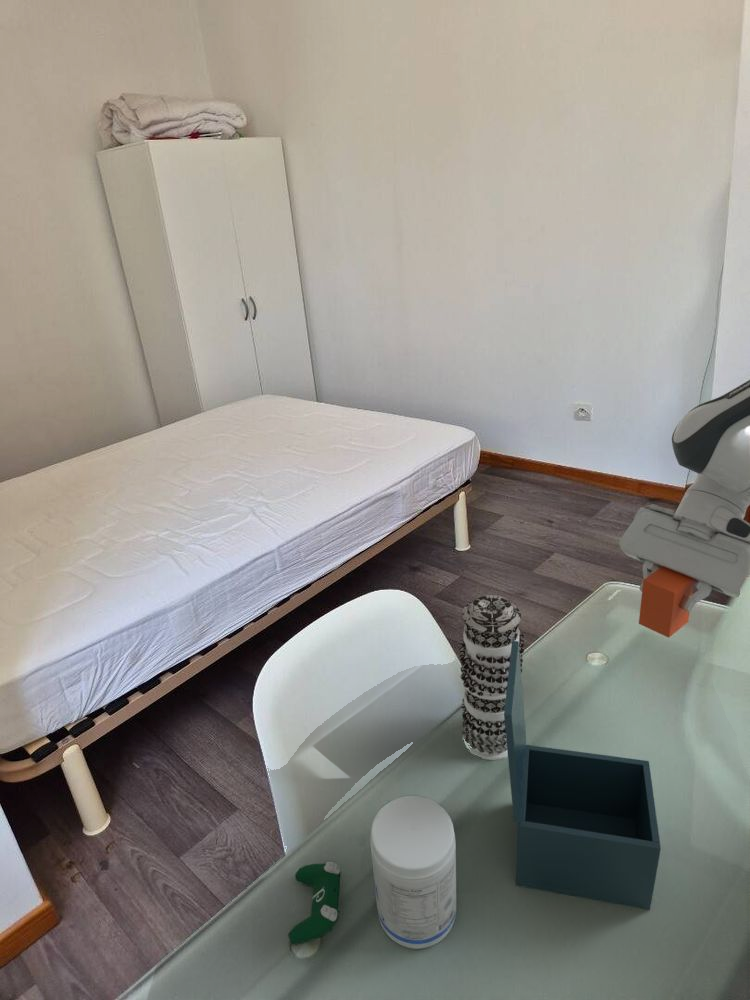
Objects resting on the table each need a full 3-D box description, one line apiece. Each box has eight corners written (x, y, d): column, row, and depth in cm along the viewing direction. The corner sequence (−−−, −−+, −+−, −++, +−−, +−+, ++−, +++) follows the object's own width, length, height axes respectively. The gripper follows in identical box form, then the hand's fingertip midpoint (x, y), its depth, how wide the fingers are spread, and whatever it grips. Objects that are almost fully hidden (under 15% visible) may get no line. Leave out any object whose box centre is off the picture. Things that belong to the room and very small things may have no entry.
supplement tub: (377, 875, 87) (369, 794, 80) (452, 873, 87) (450, 790, 80) (377, 955, 78) (368, 870, 72) (461, 952, 78) (459, 867, 71)
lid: (518, 641, 83) (511, 640, 84) (511, 714, 73) (503, 714, 73) (526, 741, 90) (520, 741, 91) (521, 823, 79) (514, 822, 80)
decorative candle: (532, 737, 106) (539, 602, 95) (496, 772, 100) (498, 634, 89) (485, 708, 112) (486, 579, 101) (448, 740, 106) (445, 607, 95)
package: (688, 622, 105) (694, 578, 102) (668, 638, 102) (674, 593, 99) (658, 608, 109) (663, 565, 105) (638, 623, 106) (643, 579, 102)
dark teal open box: (640, 819, 92) (648, 760, 87) (650, 910, 81) (660, 848, 76) (520, 801, 95) (523, 744, 91) (515, 885, 85) (517, 825, 80)
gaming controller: (309, 957, 80) (343, 933, 78) (284, 943, 79) (317, 919, 77) (316, 882, 88) (346, 859, 86) (293, 869, 87) (323, 846, 85)
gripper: (637, 493, 110) (596, 568, 109) (770, 535, 95) (725, 623, 94) (649, 508, 114) (611, 581, 113) (779, 551, 99) (736, 635, 98)
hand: (664, 601), depth 103 cm, fingers closed on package, 5 cm apart
